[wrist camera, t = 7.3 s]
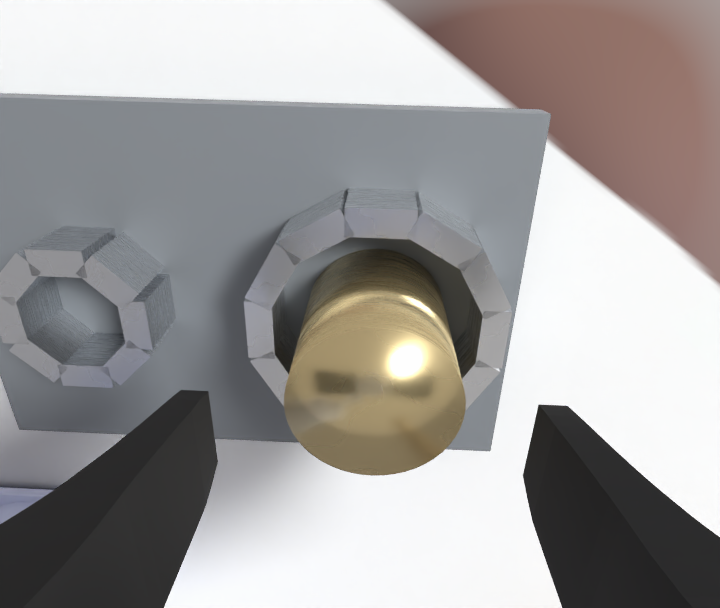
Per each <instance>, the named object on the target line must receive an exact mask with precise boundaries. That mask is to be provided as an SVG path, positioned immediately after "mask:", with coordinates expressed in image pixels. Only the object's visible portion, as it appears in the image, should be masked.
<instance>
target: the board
mask: <svg viewBox="0 0 720 608" xmlns="http://www.w3.org/2000/svg"><path fill="white" fill-rule="evenodd" d="M550 117H551V114H550V113H547V112H545V111H543V110H536V109H535V110H534V109H504V108H471V107H438V106H404V105H371V104H338V103H305V102H271V101H238V100H205V99H171V98H138V97H105V96H71V95H38V94H5V93H0V272H1V271H2V270H3V268H4V267H5V266H6V265H7V263H8V262H9V261H10V259H11V258H12V257H13V256H14V254H15V253H16V252H18V251H20V250H21V249H23V248H25V247H26V246H28V245H30V244H31V243H33V242H35V241H37V240H38V239H40V238H42V237H43V236H45V235H47V234H48V233H50V232H52V231H54V230H55V229H57V230H58V229H59V228H61V227H63V226H76V227H103V228H115V233H116V237H117V236H118V235H119V234H121V233H122V232H125V233H126V234H127V235H128V236H129V237H130V238H132V239H133V240H134V241H135V242H136V243H138V244H139V245H140V246H141V247H142V248H143V249H145V250H146V251H147V252H148V253H149V254H151V255H152V256H153V257H154V258H155V259H156V260H158V261H159V262H160V263H161V264H162V265H164V266H165V267H164V268H163V269H162V270H161V271H160V272H159V273H158V274H169V275H170V282H171V288H172V295H173V301H174V307H175V314H176V319H175V320H174V321H173V324H174V325H173V327H172V328H171V329H170V331H169V332H168V333H167V335H166V336H165V338H164V339H163V340H162V342H161V343H160V344H159V346H158V347H157V349H156V350H155V351H154V353H153V354H152V355H151V357H150V358H149V359H148V360H147V361H146V362H145V363H144V364H142V365H141V366H140V367H139V368H138V369H137V370H136V371H135V372H134V373H133V374H132V375H131V376H130V377H129V378H128V379H127V380H126V381H125V382H124V383H123V384H122V385H119V384H118V383H117V384H116V385H115V386H114V388H102V387H80V386H63V383H62V380H61V376H60V377H59V378H58V379H57V380H56V381H55V382H53V381H51V380H50V379H48V378H47V377H46V376H44V375H43V374H41V373H40V372H38V371H37V370H36V369H34V368H33V367H31V366H30V365H29V364H27V363H26V362H24V361H23V360H21V359H20V358H19V357H17V356H16V355H14V354H13V353H11V352H10V351H9V350H10V349H11V348H12V346H13V345H14V344H9V343H3V342H2V339H1V336H0V376H1V378H2V381H3V384H4V387H5V390H6V393H7V396H8V398H9V401H10V404H11V407H12V410H13V413H14V416H15V418H16V421H17V424H18V427H19V429H20V430H42V431H64V432H85V433H107V434H129V433H130V432H131V431H132V430H133V429H135V428H136V427H137V426H138V425H140V424H141V423H142V422H143V421H144V420H145V419H147V418H148V417H149V416H150V415H151V414H153V413H154V412H155V411H156V410H157V409H158V408H160V407H161V406H162V405H163V404H164V403H166V402H167V401H168V400H169V399H170V398H171V397H173V396H174V395H175V394H176V393H178V392H179V391H180V390H196V391H208V392H209V400H210V407H211V415H212V422H213V430H214V438H215V439H236V440H258V441H280V442H299V441H298V440H297V439H296V437H295V436H294V434H293V433H292V431H291V429H290V427H289V425H288V422H287V419H286V416H285V410H284V406H283V405H282V403H281V402H280V401H279V399H278V398H277V397H276V395H275V394H274V393H273V391H272V390H271V389H270V387H269V386H268V385H267V383H266V382H265V381H264V379H263V378H262V377H261V375H260V374H259V373H258V371H257V370H256V369H255V367H254V366H253V365H252V363H251V362H250V360H251V358H249V356H248V345H247V333H246V322H245V310H244V300H245V296H246V294H247V292H248V290H249V288H250V287H251V285H252V283H253V281H254V279H255V277H256V275H257V273H258V272H259V270H260V268H261V266H262V264H263V263H264V261H265V259H266V257H267V256H268V254H269V252H270V250H271V249H272V247H273V245H274V243H275V241H276V240H277V238H278V236H279V234H280V233H281V231H282V229H283V227H284V226H285V224H286V222H287V221H289V219H290V218H291V217H293V216H295V215H297V214H299V213H301V212H302V211H304V210H306V209H308V208H310V207H312V206H314V205H316V204H317V203H319V202H321V201H323V200H325V199H327V198H329V197H330V196H332V195H334V194H336V193H338V192H340V191H342V190H344V189H345V190H346V192H347V194H348V191H349V188H369V189H399V190H414V192H415V196H416V194H417V193H418V191H419V192H420V193H422V194H423V195H425V196H427V197H428V198H430V199H431V200H433V201H435V202H436V203H438V204H439V205H441V206H442V207H444V208H446V209H447V210H449V211H450V212H452V213H454V214H455V215H457V216H458V217H460V218H461V219H463V220H465V221H466V222H468V223H469V224H471V226H472V228H474V229H475V231H476V233H477V236H478V238H479V240H480V242H481V244H482V246H483V248H484V250H485V252H486V255H487V257H488V259H489V261H490V263H491V265H492V267H493V270H494V272H495V274H496V276H497V278H498V280H499V282H500V285H501V287H502V289H503V291H504V293H505V295H506V297H507V300H508V302H509V304H510V306H511V311H512V315H511V321H510V327H509V332H508V338H507V344H506V349H505V355H504V361H503V366H502V368H499V370H500V373H499V374H498V375H497V376H496V377H495V378H494V380H493V381H492V382H491V383H490V384H489V385H488V386H487V387H486V388H485V390H484V391H483V392H482V393H481V394H480V395H479V396H478V397H477V398H476V399H475V401H474V402H473V403H472V404H471V405H470V406H469V407H468V408H467V409H466V411H465V415H464V420H463V423H462V425H461V428H460V430H459V432H458V433H457V435H456V437H455V438H454V440H453V441H452V442H451V444H450V445H449V446H448V447H447V448H446V449H452V450H474V451H490V450H491V444H492V439H493V433H494V428H495V422H496V417H497V411H498V405H499V400H500V394H501V389H502V383H503V378H504V372H505V367H506V361H507V356H508V350H509V345H510V339H511V333H512V328H513V322H514V317H515V311H516V306H517V300H518V295H519V289H520V284H521V278H522V273H523V267H524V261H525V256H526V250H527V245H528V239H529V234H530V228H531V223H532V217H533V212H534V206H535V201H536V195H537V189H538V184H539V178H540V173H541V167H542V162H543V156H544V151H545V145H546V140H547V134H548V129H549V123H550ZM365 249H387V250H392V251H396V252H399V253H402V254H405V255H407V256H409V257H411V258H413V259H414V260H416V261H417V262H419V263H420V264H421V265H422V266H424V267H425V268H426V269H427V270H428V271H429V273H430V274H431V275H432V276H433V278H434V279H435V281H436V283H437V285H438V287H439V289H440V292H441V296H442V299H443V304H444V308H445V312H446V316H447V320H448V324H449V328H450V333H451V337H452V341H453V345H454V344H455V343H456V341H457V340H458V339H459V338H460V337H461V335H462V334H463V333H464V332H465V331H466V328H467V320H468V313H469V306H470V298H471V291H470V289H469V287H468V285H467V283H466V281H465V279H464V277H463V275H462V273H461V271H460V269H458V268H457V267H455V266H453V265H452V264H450V263H448V262H447V261H445V260H443V259H442V258H440V257H439V256H437V255H435V254H434V253H432V252H430V251H429V250H427V249H425V248H424V247H422V246H420V245H419V244H417V243H415V242H414V241H412V240H410V239H385V238H357V237H349V238H347V239H345V240H343V241H341V242H339V243H337V244H335V245H333V246H332V247H330V248H328V249H326V250H324V251H322V252H320V253H318V254H316V255H314V256H312V257H310V258H308V259H306V260H304V261H302V262H300V263H298V265H297V267H296V268H295V270H294V272H293V273H292V275H291V276H290V278H289V280H288V281H287V283H286V285H285V286H284V293H285V315H286V323H287V325H288V326H289V328H290V329H291V331H292V332H293V333H294V335H295V336H296V338H297V339H298V338H299V335H300V331H301V327H302V324H303V320H304V316H305V312H306V309H307V305H308V301H309V297H310V294H311V291H312V288H313V286H314V284H315V282H316V280H317V278H318V277H319V276H320V274H321V273H322V272H323V271H324V270H325V269H326V268H327V267H328V266H329V265H330V264H331V263H333V262H334V261H335V260H337V259H339V258H340V257H342V256H344V255H347V254H349V253H352V252H355V251H359V250H365ZM55 279H56V283H57V286H58V290H59V294H60V298H61V302H62V305H63V309H65V310H66V311H67V312H69V313H70V314H71V315H72V316H74V317H75V318H76V319H78V320H79V321H80V322H82V323H83V324H84V325H86V326H87V327H88V328H90V329H91V330H92V331H94V332H100V333H123V329H122V325H121V320H120V315H119V311H118V307H117V306H116V305H115V304H114V303H112V302H111V301H110V300H109V299H107V298H106V297H105V296H104V295H102V294H101V293H100V292H98V291H97V290H96V289H95V288H93V287H92V286H91V285H90V284H88V283H87V282H86V281H85V280H83V279H82V278H73V277H55Z"/></svg>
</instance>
